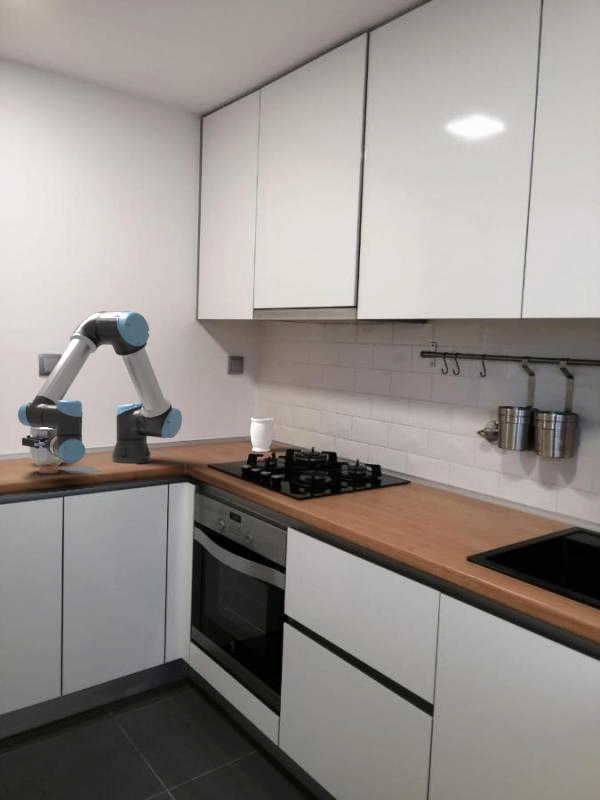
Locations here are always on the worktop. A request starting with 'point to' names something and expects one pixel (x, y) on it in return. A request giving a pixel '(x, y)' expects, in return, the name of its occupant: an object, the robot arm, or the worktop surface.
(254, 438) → the jar
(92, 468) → the mat
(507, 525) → the worktop surface
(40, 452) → the faceted metal canister
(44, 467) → the beige low rounded block
